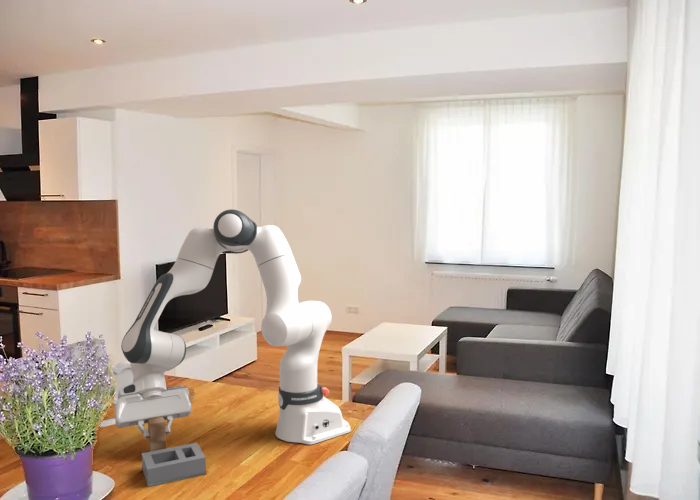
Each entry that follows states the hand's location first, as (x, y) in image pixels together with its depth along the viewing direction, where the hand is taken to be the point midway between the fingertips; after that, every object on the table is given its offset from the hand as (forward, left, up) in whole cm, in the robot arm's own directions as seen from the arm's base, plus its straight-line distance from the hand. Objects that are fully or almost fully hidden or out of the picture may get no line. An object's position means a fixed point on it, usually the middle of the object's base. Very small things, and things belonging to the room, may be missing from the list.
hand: (157, 435), depth 162 cm
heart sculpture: (+7, -33, -6) cm, 34 cm away
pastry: (-16, -43, -6) cm, 46 cm away
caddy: (-2, +11, -6) cm, 13 cm away
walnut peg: (0, -1, -6) cm, 6 cm away
